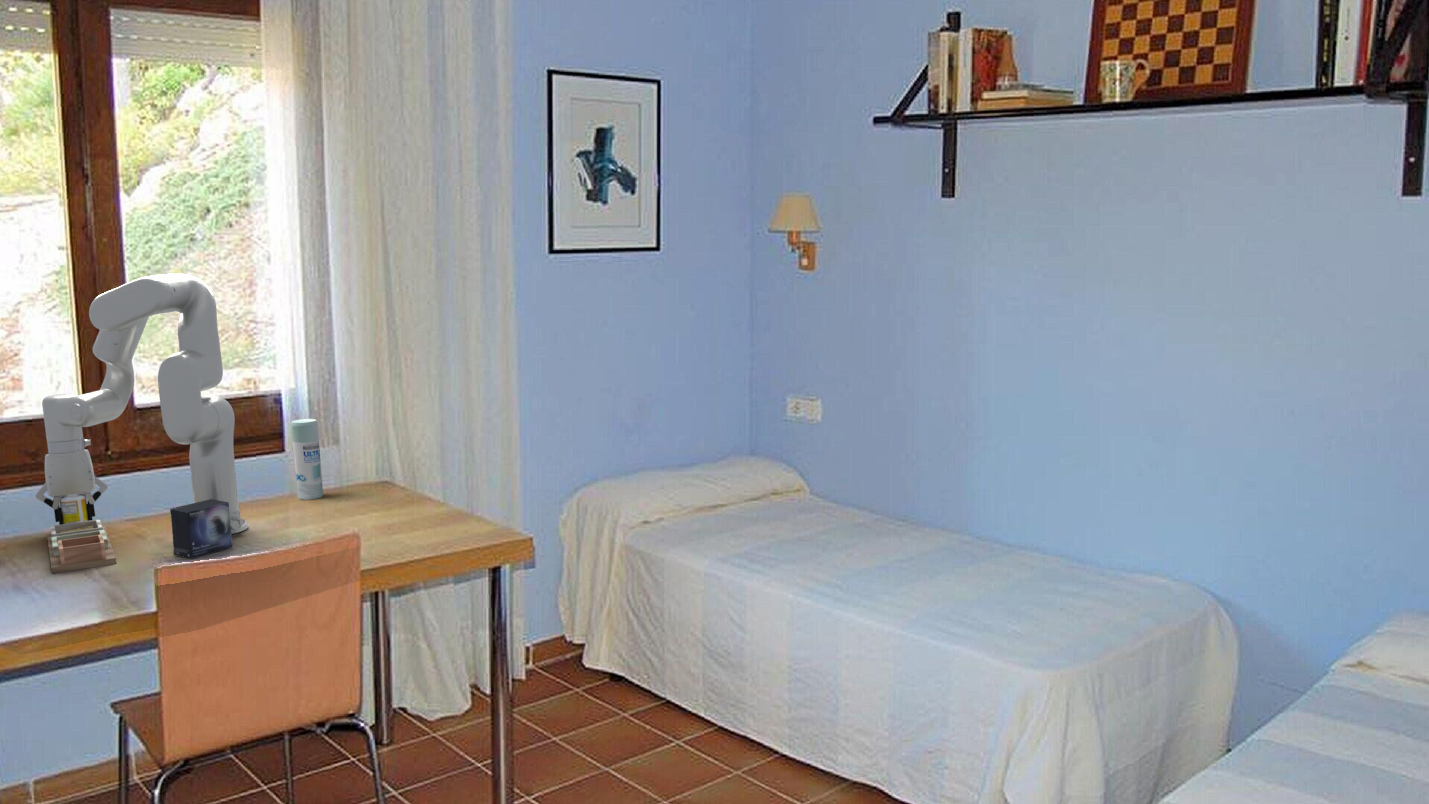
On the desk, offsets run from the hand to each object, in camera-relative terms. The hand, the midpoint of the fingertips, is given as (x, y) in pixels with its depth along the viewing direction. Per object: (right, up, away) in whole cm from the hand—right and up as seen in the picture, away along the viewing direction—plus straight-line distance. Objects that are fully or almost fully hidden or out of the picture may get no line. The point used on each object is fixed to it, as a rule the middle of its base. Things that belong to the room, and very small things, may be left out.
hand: (75, 521), depth 287 cm
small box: (+40, -5, -23) cm, 46 cm away
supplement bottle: (0, -2, 0) cm, 2 cm away
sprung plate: (+6, -2, -10) cm, 12 cm away
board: (+11, -5, -19) cm, 22 cm away
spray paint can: (+46, +3, +28) cm, 54 cm away
